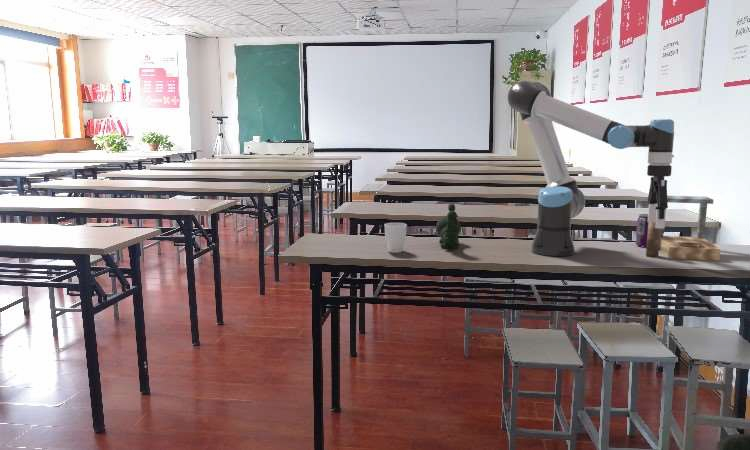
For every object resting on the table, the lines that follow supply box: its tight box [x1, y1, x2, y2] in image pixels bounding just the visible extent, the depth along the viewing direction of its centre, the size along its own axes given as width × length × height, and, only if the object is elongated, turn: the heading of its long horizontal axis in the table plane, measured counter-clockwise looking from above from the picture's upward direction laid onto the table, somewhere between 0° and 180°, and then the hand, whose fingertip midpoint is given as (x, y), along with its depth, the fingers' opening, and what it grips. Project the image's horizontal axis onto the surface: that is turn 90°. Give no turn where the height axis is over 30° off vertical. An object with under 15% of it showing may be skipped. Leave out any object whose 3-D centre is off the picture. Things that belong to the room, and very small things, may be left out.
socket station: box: [659, 195, 722, 261], centre depth 214 cm, size 16×22×20 cm
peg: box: [645, 222, 661, 258], centre depth 209 cm, size 4×4×12 cm
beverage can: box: [635, 213, 649, 248], centre depth 226 cm, size 7×7×12 cm
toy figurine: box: [435, 202, 462, 249], centre depth 225 cm, size 9×19×25 cm
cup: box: [384, 222, 408, 254], centre depth 217 cm, size 8×8×10 cm
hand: (655, 225), depth 208 cm, fingers open, 13 cm apart
